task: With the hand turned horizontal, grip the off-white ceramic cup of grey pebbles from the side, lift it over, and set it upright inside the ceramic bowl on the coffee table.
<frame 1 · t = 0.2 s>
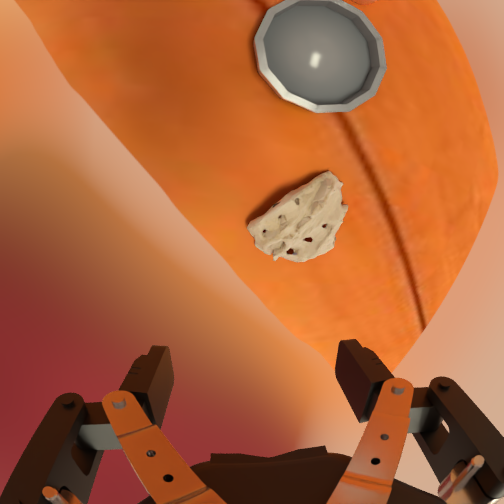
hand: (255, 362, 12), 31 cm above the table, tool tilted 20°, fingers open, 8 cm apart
bowl: (318, 53, 30), on the table
coral: (299, 217, 43), on the table
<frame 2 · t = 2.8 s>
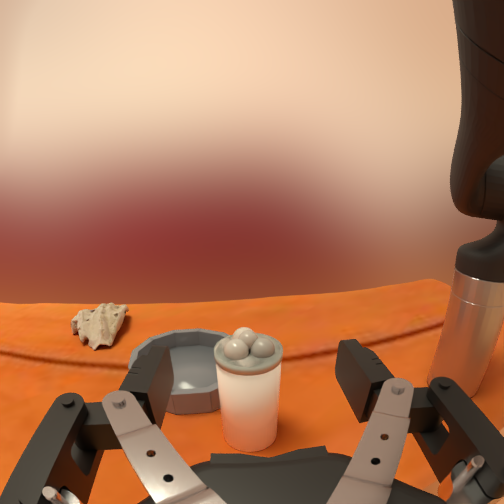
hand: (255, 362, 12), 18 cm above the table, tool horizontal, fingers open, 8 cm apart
bowl: (190, 375, 38), on the table
coral: (102, 331, 50), on the table
pebble cup: (249, 432, 27), on the table
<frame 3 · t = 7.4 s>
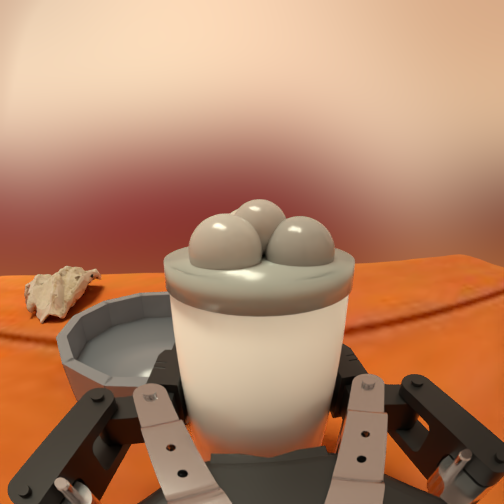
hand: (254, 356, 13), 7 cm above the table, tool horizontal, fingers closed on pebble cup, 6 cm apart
bowl: (157, 359, 23), on the table
coral: (62, 303, 35), on the table
pebble cup: (257, 469, 12), on the table, touching gripper
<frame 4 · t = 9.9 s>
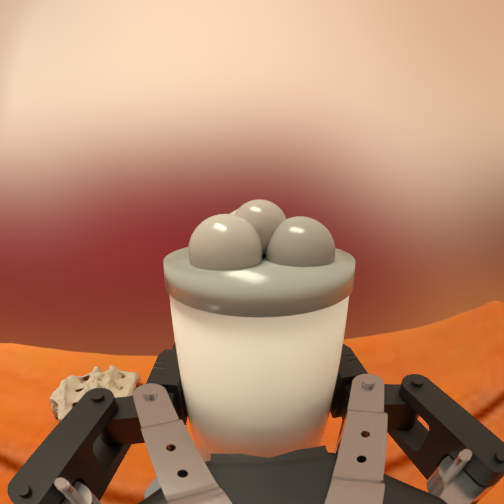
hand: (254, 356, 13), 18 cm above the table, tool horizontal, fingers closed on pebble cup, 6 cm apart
coral: (100, 414, 27), on the table
pebble cup: (257, 470, 12), point 11 cm above the table, touching gripper
when the fingers open (9 cm above the table, at t = 12.7 s): pebble cup drops 1 cm, resting on bowl.
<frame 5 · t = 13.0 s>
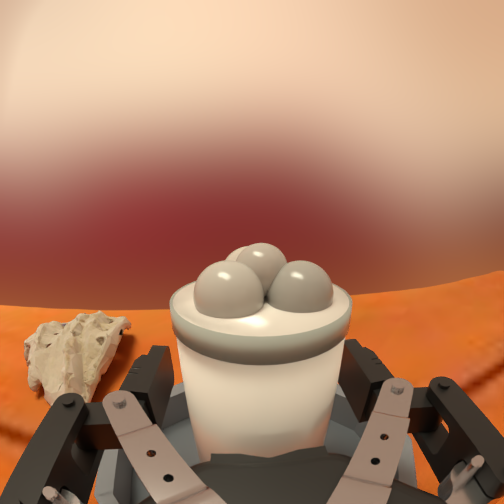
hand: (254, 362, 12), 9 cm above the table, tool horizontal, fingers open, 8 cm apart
bowl: (257, 487, 12), on the table
coral: (80, 366, 24), on the table
pebble cup: (258, 482, 12), point 1 cm above the table, touching bowl
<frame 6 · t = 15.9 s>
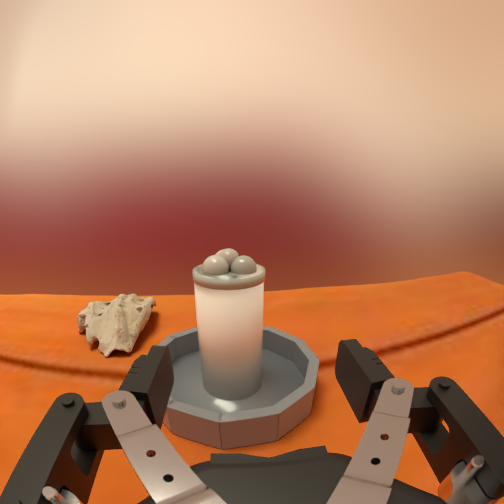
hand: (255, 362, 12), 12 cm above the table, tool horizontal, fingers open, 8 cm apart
bowl: (231, 386, 27), on the table
coral: (119, 331, 38), on the table
pebble cup: (232, 381, 26), point 1 cm above the table, touching bowl
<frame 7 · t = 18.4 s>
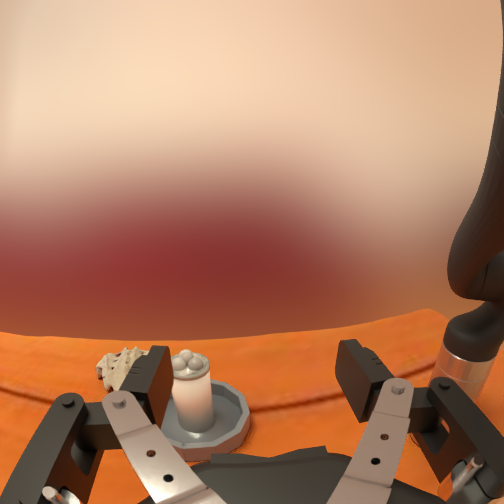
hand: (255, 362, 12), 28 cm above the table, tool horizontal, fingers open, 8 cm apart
bowl: (196, 422, 39), on the table
coral: (126, 376, 51), on the table
pebble cup: (196, 420, 39), point 1 cm above the table, touching bowl
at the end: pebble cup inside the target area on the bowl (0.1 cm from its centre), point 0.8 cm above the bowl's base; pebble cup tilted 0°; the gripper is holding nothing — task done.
